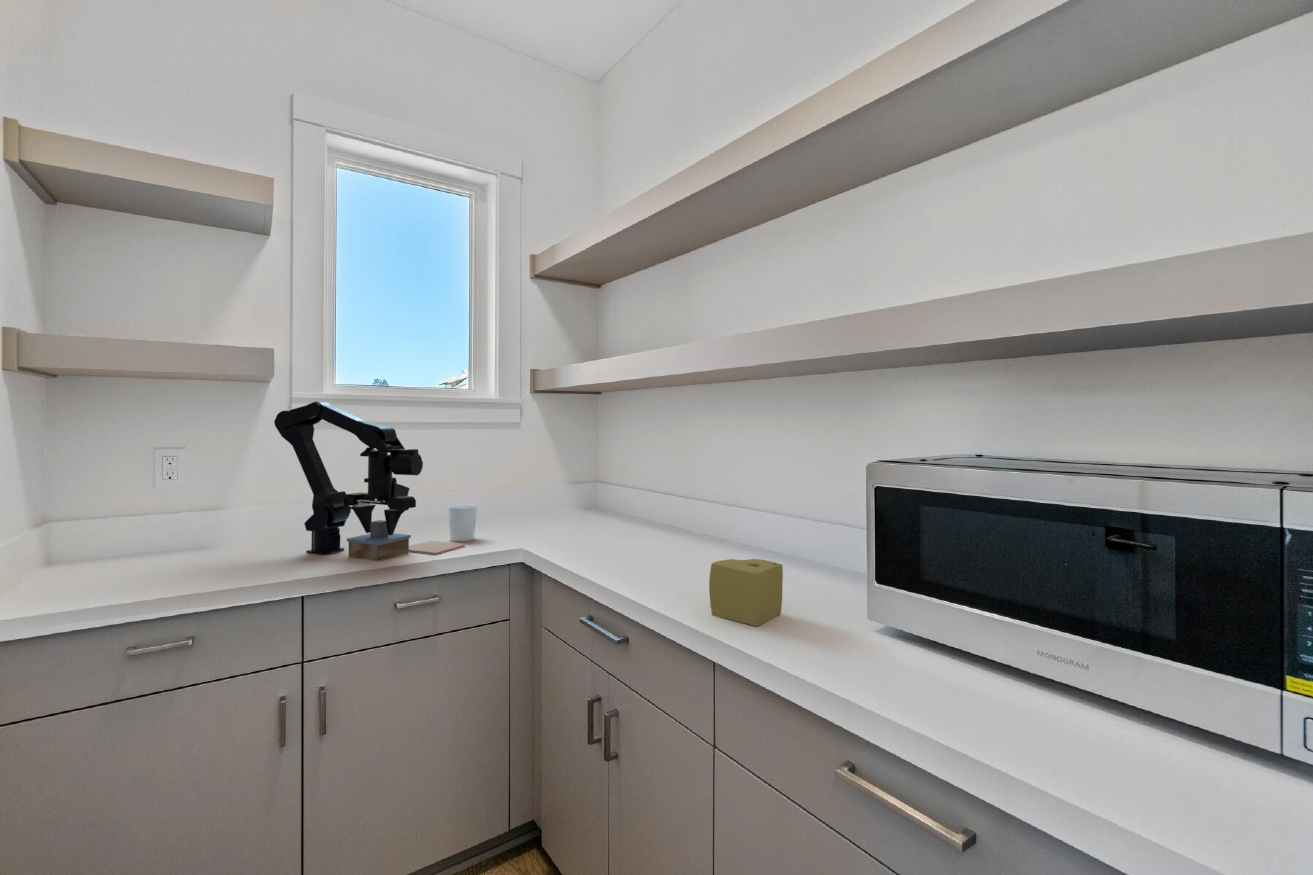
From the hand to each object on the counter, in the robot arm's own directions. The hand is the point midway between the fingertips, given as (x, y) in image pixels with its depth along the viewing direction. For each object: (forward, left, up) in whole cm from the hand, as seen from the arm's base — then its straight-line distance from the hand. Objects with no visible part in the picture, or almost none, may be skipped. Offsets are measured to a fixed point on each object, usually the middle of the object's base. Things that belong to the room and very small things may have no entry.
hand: (379, 533), depth 152 cm
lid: (0, 0, -2) cm, 2 cm away
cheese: (+98, -10, -6) cm, 99 cm away
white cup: (+6, +26, -6) cm, 27 cm away
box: (0, 0, -6) cm, 6 cm away
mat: (+7, +12, -6) cm, 15 cm away
